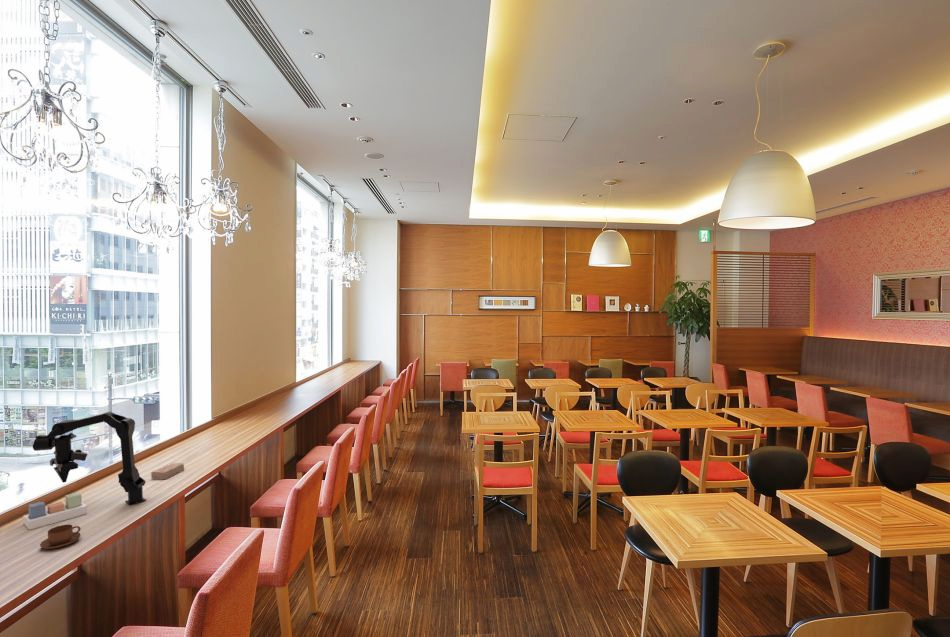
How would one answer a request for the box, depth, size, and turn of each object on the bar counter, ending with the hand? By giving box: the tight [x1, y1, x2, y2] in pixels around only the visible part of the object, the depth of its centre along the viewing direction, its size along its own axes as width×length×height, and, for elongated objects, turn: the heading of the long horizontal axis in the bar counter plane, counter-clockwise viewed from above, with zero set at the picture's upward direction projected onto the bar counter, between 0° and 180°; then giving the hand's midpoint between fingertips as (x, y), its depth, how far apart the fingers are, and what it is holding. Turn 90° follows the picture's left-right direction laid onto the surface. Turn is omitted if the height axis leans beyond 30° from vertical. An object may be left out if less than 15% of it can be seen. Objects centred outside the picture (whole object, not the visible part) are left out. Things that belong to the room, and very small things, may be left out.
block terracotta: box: [46, 501, 65, 514], centre depth 211 cm, size 5×5×6 cm
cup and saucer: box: [39, 524, 81, 550], centre depth 187 cm, size 12×12×6 cm
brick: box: [150, 462, 185, 480], centre depth 266 cm, size 17×8×5 cm, turn 178°
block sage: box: [64, 491, 83, 509], centre depth 216 cm, size 5×5×6 cm
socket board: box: [23, 502, 88, 530], centre depth 211 cm, size 10×19×4 cm, turn 144°
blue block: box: [27, 501, 46, 520], centre depth 206 cm, size 5×5×6 cm
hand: (64, 482), depth 221 cm, fingers closed
